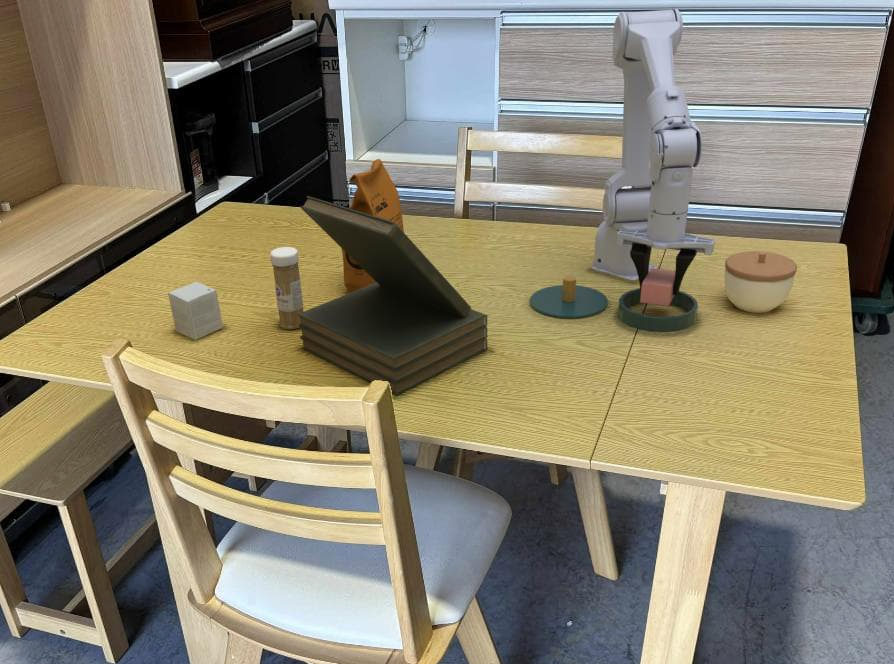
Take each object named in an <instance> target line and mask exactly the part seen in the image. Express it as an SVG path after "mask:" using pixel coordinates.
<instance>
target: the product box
mask: <svg viewBox="0 0 894 664" xmlns="http://www.w3.org/2000/svg"><path fill="white" fill-rule="evenodd" d="M167 295H168V300H169V301H168V302H169V305H170V311H171V314H172V315H171V316H172V320H173V325H174V329H175V331H176V332H177V333H179V334H181V335H183V336H186V337H188V338H190V339H191V340H194V341H197V340H199V339H201V338H204V337H205V336H208V335H210V334H212V333H214V332H216V331H219V330H221V329H223V328H224V323H223V320H222V313H221V309H220V304H219V299H218V292H217V290H216V289H215V288H213V287H210V286H207V285H205V284H204V283H200V282H198V281H195V282H193V283H190V284H188V285H185V286H182V287H179V288H176V289H175V290H172V291H170V292H169V291H168V292H167Z"/></svg>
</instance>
